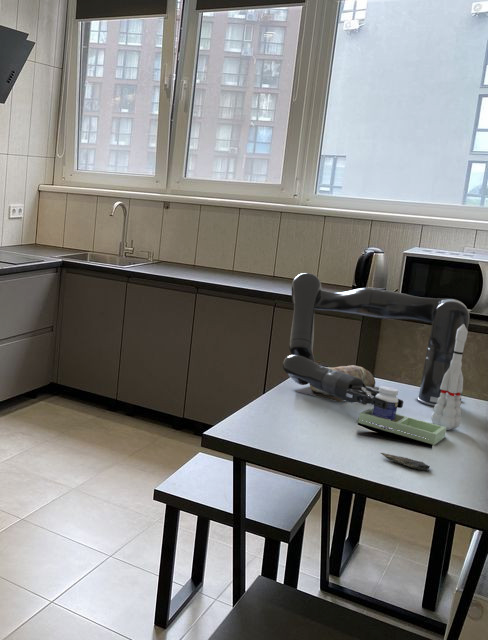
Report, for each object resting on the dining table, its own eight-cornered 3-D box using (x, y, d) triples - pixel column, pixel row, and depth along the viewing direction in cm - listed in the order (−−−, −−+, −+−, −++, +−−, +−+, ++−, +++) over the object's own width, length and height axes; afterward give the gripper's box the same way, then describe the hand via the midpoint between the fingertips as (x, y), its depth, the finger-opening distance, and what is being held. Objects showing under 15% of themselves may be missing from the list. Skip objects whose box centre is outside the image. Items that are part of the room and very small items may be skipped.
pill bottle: (396, 427, 203) (403, 392, 202) (374, 424, 204) (380, 389, 203) (389, 421, 209) (396, 387, 207) (368, 417, 210) (374, 383, 208)
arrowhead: (378, 456, 181) (379, 450, 181) (422, 463, 179) (423, 457, 178) (386, 467, 174) (387, 461, 174) (432, 474, 172) (433, 468, 172)
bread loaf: (332, 377, 258) (335, 351, 257) (387, 388, 246) (390, 361, 245) (292, 397, 233) (294, 368, 232) (351, 410, 221) (354, 380, 220)
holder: (370, 416, 214) (371, 406, 213) (444, 437, 200) (446, 427, 200) (358, 422, 206) (359, 412, 206) (434, 445, 193) (436, 434, 193)
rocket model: (426, 421, 214) (445, 319, 209) (455, 426, 211) (475, 323, 207) (432, 429, 207) (452, 324, 202) (462, 434, 205) (483, 328, 200)
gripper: (357, 397, 222) (409, 416, 207) (323, 399, 216) (374, 419, 201) (361, 372, 221) (414, 391, 206) (327, 374, 215) (379, 393, 200)
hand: (394, 405), depth 203 cm, fingers closed on pill bottle, 5 cm apart
